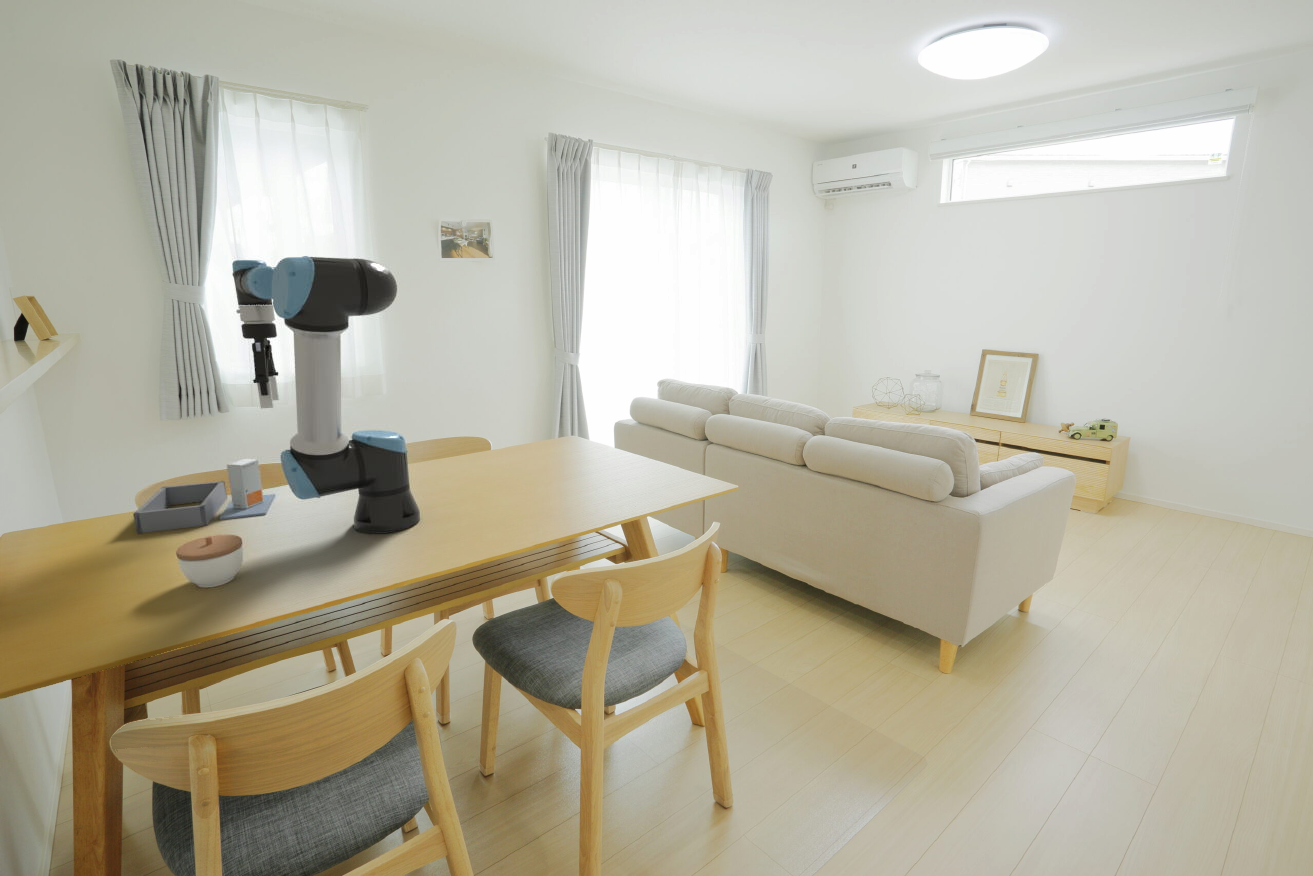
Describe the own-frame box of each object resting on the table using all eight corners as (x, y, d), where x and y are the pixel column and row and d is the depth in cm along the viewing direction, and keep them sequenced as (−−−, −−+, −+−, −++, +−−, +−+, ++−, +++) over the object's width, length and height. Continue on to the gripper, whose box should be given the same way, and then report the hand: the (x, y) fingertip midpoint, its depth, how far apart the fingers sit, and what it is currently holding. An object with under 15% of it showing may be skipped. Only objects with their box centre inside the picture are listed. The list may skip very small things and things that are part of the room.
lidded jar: (204, 569, 131) (196, 527, 128) (258, 568, 132) (251, 526, 129) (169, 594, 120) (160, 548, 118) (228, 592, 121) (220, 547, 119)
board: (265, 514, 162) (265, 512, 162) (219, 520, 158) (219, 517, 158) (275, 496, 176) (275, 494, 176) (233, 500, 173) (233, 498, 172)
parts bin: (207, 525, 155) (204, 506, 154) (137, 533, 149) (133, 513, 148) (227, 498, 174) (224, 480, 173) (165, 504, 169) (162, 486, 168)
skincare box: (246, 509, 164) (239, 465, 161) (232, 508, 165) (225, 464, 162) (265, 501, 170) (258, 459, 167) (251, 500, 171) (244, 458, 168)
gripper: (248, 321, 171) (259, 398, 176) (232, 324, 149) (246, 412, 154) (279, 320, 174) (290, 396, 179) (269, 323, 152) (282, 410, 157)
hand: (270, 404), depth 166 cm, fingers open, 13 cm apart
